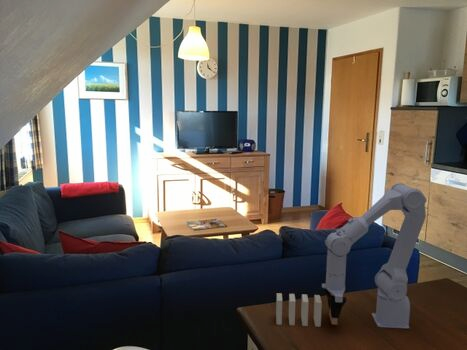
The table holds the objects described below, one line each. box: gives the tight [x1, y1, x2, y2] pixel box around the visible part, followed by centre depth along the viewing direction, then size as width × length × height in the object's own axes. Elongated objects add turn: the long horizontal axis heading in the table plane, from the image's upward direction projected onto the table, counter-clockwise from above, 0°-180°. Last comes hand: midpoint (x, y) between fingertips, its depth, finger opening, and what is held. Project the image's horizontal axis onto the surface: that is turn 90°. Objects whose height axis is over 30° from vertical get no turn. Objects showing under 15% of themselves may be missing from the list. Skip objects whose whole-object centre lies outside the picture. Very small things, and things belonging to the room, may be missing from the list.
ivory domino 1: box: [275, 292, 283, 326], centre depth 127 cm, size 2×5×8 cm, turn 175°
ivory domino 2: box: [288, 293, 296, 326], centre depth 127 cm, size 2×5×8 cm, turn 175°
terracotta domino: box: [329, 294, 339, 326], centre depth 125 cm, size 2×5×8 cm, turn 175°
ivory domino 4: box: [313, 294, 323, 328], centre depth 126 cm, size 2×5×8 cm, turn 175°
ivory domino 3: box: [300, 294, 309, 327], centre depth 126 cm, size 2×5×8 cm, turn 175°
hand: (333, 313), depth 126 cm, fingers closed on terracotta domino, 5 cm apart
